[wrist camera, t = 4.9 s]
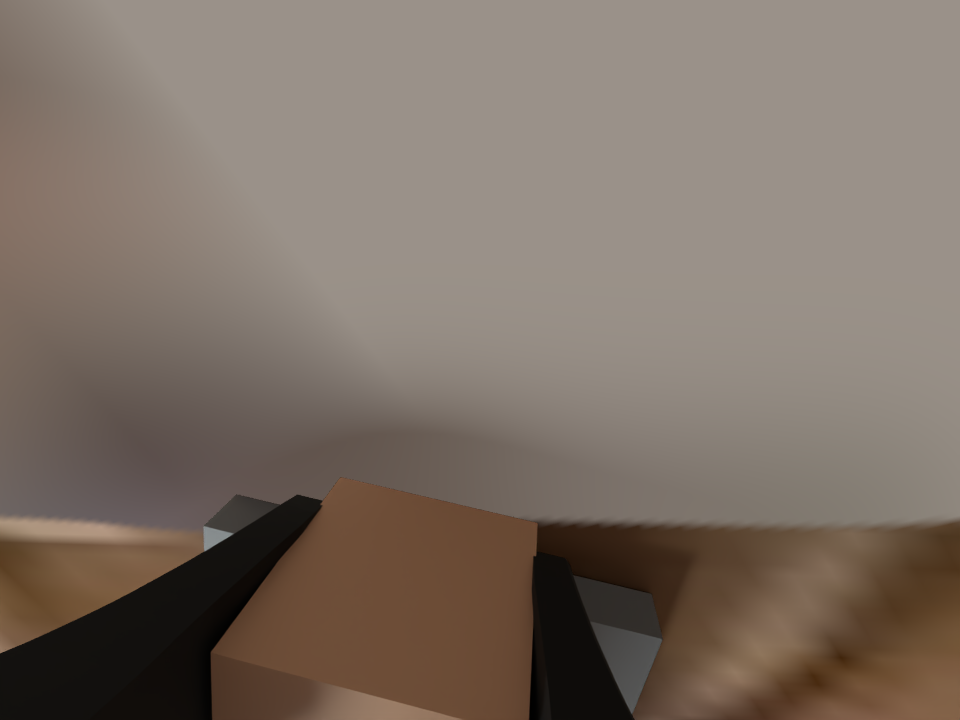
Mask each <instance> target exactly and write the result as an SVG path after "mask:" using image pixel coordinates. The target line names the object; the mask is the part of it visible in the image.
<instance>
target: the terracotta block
mask: <svg viewBox="0 0 960 720" xmlns="http://www.w3.org/2000/svg"><path fill="white" fill-rule="evenodd" d="M320 505H323V506H322V507H321V509H320V510H319V511H318V513H317V514H316V516H315V517H314V518H313V520H312V521H311V522H310V524H309V525H308V527H307V528H306V529H305V531H304V532H303V533H302V535H301V536H300V537H299V538H298V539H297V540H296V541H295V543H294V544H293V545H292V546H291V547H290V548H289V549H288V551H287V552H286V553H285V554H284V555H283V556H282V557H281V558H280V560H279V561H278V562H277V564H276V565H275V566H274V568H273V569H272V570H271V572H270V573H269V574H268V576H267V577H266V578H265V580H264V581H263V583H262V584H261V585H260V587H259V588H258V589H257V591H256V592H255V593H254V595H253V596H252V597H251V599H250V600H249V601H248V603H247V604H246V606H245V607H244V608H243V610H242V611H241V612H240V614H239V615H238V616H237V618H236V619H235V620H234V622H233V623H232V624H231V626H230V627H229V628H228V630H227V631H226V633H225V634H224V635H223V637H222V638H221V639H220V641H219V642H218V643H217V645H216V646H215V647H214V649H213V650H212V651H211V688H212V720H529V707H530V684H531V662H532V639H533V604H532V573H533V556H536V548H537V525H538V523H535V522H531V521H527V520H523V519H518V518H514V517H510V516H505V515H501V514H497V513H493V512H488V511H484V510H480V509H475V508H471V507H466V506H462V505H458V504H454V503H450V502H445V501H441V500H437V499H432V498H428V497H424V496H419V495H415V494H411V493H407V492H402V491H398V490H394V489H390V488H385V487H381V486H377V485H372V484H368V483H364V482H360V481H355V480H351V479H346V478H342V477H340V479H339V480H338V481H337V482H336V484H335V485H334V487H333V488H332V489H331V491H330V492H329V493H328V495H327V496H326V497H325V499H324V500H323V501H322V503H321V504H320Z"/></svg>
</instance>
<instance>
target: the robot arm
mask: <svg viewBox="0 0 960 720" xmlns="http://www.w3.org/2000/svg"><path fill="white" fill-rule="evenodd" d="M321 503H322V501H321V500H318V499H313V498H309V497H305V496H301V495H296V496H294V497H293V498H291V499H289V500H288V501H286V502H284V503H283V504H281V505H279V506H278V507H276V508H274V509H273V510H271V511H270V512H268V513H266V514H265V515H263V516H262V517H260V518H258V519H257V520H255V521H254V522H252V523H250V524H249V525H247V526H246V527H244V528H242V529H241V530H239V531H237V532H236V533H234V534H233V535H231V536H229V537H228V538H226V539H224V540H223V541H221V542H219V543H218V544H216V545H214V546H213V547H211V548H209V549H208V550H206V551H204V552H203V553H201V554H199V555H198V556H196V557H194V558H192V559H191V560H189V561H187V562H186V563H184V564H182V565H180V566H178V567H177V568H175V569H173V570H171V571H169V572H168V573H166V574H164V575H162V576H160V577H158V578H157V579H155V580H153V581H151V582H149V583H147V584H146V585H144V586H142V587H140V588H138V589H137V590H135V591H133V592H131V593H129V594H127V595H125V596H123V597H121V598H120V599H118V600H116V601H114V602H112V603H110V604H108V605H106V606H104V607H102V608H100V609H98V610H96V611H93V612H91V613H89V614H87V615H85V616H83V617H81V618H79V619H77V620H75V621H72V622H70V623H68V624H66V625H64V626H62V627H60V628H57V629H55V630H53V631H51V632H49V633H47V634H44V635H42V636H40V637H38V638H36V639H33V640H31V641H29V642H27V643H24V644H22V645H19V646H17V647H15V648H12V649H10V650H7V651H5V652H2V653H0V720H212V688H211V651H212V650H213V649H214V647H215V646H216V645H217V643H218V642H219V641H220V639H221V638H222V637H223V635H224V634H225V633H226V631H227V630H228V628H229V627H230V626H231V624H232V623H233V622H234V620H235V619H236V618H237V616H238V615H239V614H240V612H241V611H242V610H243V608H244V607H245V606H246V604H247V603H248V601H249V600H250V599H251V597H252V596H253V595H254V593H255V592H256V591H257V589H258V588H259V587H260V585H261V584H262V583H263V581H264V580H265V578H266V577H267V576H268V574H269V573H270V572H271V570H272V569H273V568H274V566H275V565H276V564H277V562H278V561H279V560H280V558H281V557H282V556H283V555H284V554H285V553H286V552H287V551H288V549H289V548H290V547H291V546H292V545H293V544H294V543H295V541H296V540H297V539H298V538H299V537H300V536H301V535H302V533H303V532H304V531H305V529H306V528H307V527H308V525H309V524H310V522H311V521H312V520H313V518H314V517H315V516H316V514H317V513H318V511H319V510H320V509H321V507H322V506H323V505H320V504H321ZM532 604H533V639H532V662H531V684H530V707H529V720H634V718H633V716H632V714H631V712H630V710H629V708H628V706H627V704H626V702H625V700H624V698H623V695H622V693H621V691H620V689H619V687H618V685H617V683H616V681H615V679H614V676H613V674H612V672H611V670H610V667H609V665H608V663H607V660H606V658H605V656H604V654H603V651H602V649H601V647H600V645H599V642H598V640H597V638H596V635H595V633H594V630H593V628H592V625H591V623H590V620H589V618H588V615H587V613H586V610H585V607H584V605H583V602H582V599H581V597H580V594H579V591H578V588H577V585H576V582H575V579H574V576H573V573H572V570H571V567H570V564H569V563H568V561H567V560H566V558H562V557H558V556H553V555H549V554H545V553H541V552H536V556H533V573H532Z"/></svg>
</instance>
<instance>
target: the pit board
mask: <svg viewBox="0 0 960 720" xmlns="http://www.w3.org/2000/svg"><path fill="white" fill-rule="evenodd" d="M278 506H279V504H274V503H270V502H266V501H261V500H257V499H253V498H249V497H245V496H241V495H235V496H234V497H233V498H232V499H231V500H230V501H229V502H228V503H227V504H226V505H225V506H224V507H223V508H222V509H221V510H220V511H219V512H218V513H217V514H216V515H215V516H214V517H213V518H212V519H210V520H209V522H208V523H206V524H205V525H204V551H206V550H208V549H209V548H211V547H213V546H214V545H216V544H218V543H219V542H221V541H223V540H224V539H226V538H228V537H229V536H231V535H233V534H234V533H236V532H237V531H239V530H241V529H242V528H244V527H246V526H247V525H249V524H250V523H252V522H254V521H255V520H257V519H258V518H260V517H262V516H263V515H265V514H266V513H268V512H270V511H271V510H273V509H274V508H276V507H278ZM573 576H574V579H575V582H576V585H577V588H578V591H579V594H580V597H581V599H582V602H583V605H584V607H585V610H586V613H587V615H588V618H589V620H590V623H591V625H592V628H593V630H594V633H595V635H596V638H597V640H598V642H599V645H600V647H601V649H602V651H603V654H604V656H605V658H606V660H607V663H608V665H609V667H610V670H611V672H612V674H613V676H614V679H615V681H616V683H617V685H618V687H619V689H620V691H621V693H622V695H623V698H624V700H625V702H626V704H627V706H628V708H629V710H630V712H631V714H633V711H634V709H635V706H636V704H637V701H638V699H639V696H640V694H641V691H642V689H643V686H644V684H645V682H646V679H647V677H648V674H649V672H650V669H651V667H652V664H653V662H654V659H655V657H656V654H657V652H658V650H659V647H660V645H661V642H662V640H663V638H662V634H661V630H660V626H659V622H658V618H657V614H656V610H655V606H654V601H653V597H652V594H650V593H646V592H641V591H637V590H633V589H629V588H625V587H621V586H616V585H612V584H608V583H604V582H600V581H595V580H591V579H587V578H583V577H579V576H575V575H573Z"/></svg>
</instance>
